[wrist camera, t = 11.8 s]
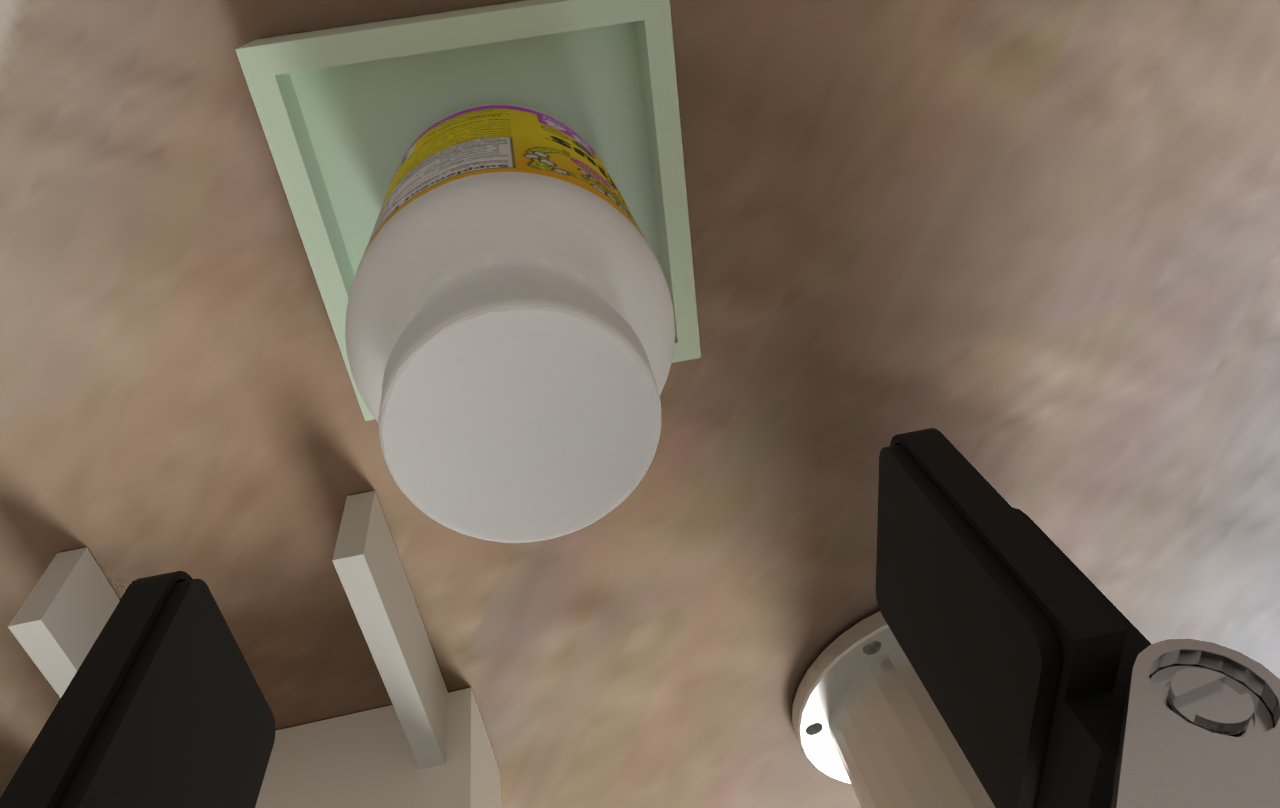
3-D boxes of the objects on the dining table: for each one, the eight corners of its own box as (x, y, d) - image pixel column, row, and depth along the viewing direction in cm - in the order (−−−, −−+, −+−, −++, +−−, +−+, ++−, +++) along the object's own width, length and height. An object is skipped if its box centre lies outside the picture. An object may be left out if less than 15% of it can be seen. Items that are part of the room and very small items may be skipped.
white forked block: (402, 485, 29) (374, 699, 21) (499, 772, 38) (506, 1002, 30) (27, 559, 28) (-158, 816, 20) (217, 837, 37) (142, 1095, 29)
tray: (652, -19, 22) (668, -15, 21) (686, 329, 28) (701, 357, 26) (256, 39, 21) (235, 48, 20) (373, 387, 27) (365, 420, 25)
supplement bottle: (643, 268, 26) (763, 510, 15) (453, 345, 26) (435, 639, 15) (564, 58, 22) (646, 172, 11) (346, 148, 23) (220, 345, 12)
